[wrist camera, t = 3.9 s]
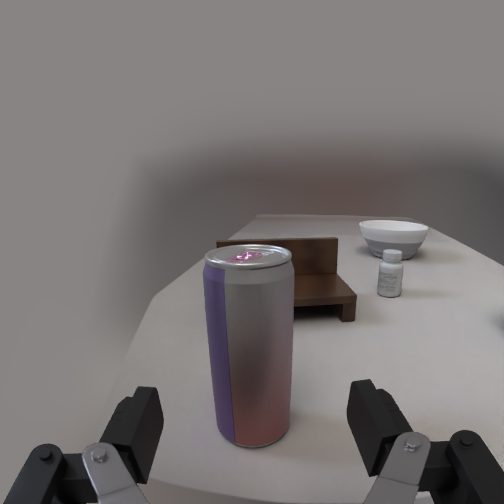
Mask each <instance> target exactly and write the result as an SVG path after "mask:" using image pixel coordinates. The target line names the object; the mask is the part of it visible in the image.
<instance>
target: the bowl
mask: <svg viewBox="0 0 504 504" xmlns="http://www.w3.org/2000/svg"><path fill="white" fill-rule="evenodd" d="M359 225H360V228H361V231H362V234H363V237H364V239H365V241H366V243H367V244H368V246H369V248H370V249H371V250H372V251H373V254H374V255H375V256H377V257H380V258H383V251H384V250H387V249H393V250H399V251H401V252H402V259H401V260H404V259H409V258H411V257H412V256H413V254H414V253H416V252H417V250H418V248H419V247H420V246H421V245H422V243H423V241H424V240H425V238H426V235H427V233H428V230H429V227H427V226H425V225H421V224H417V223H411V222H402V221H387V220H374V221H364V222H360V223H359Z"/></svg>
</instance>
